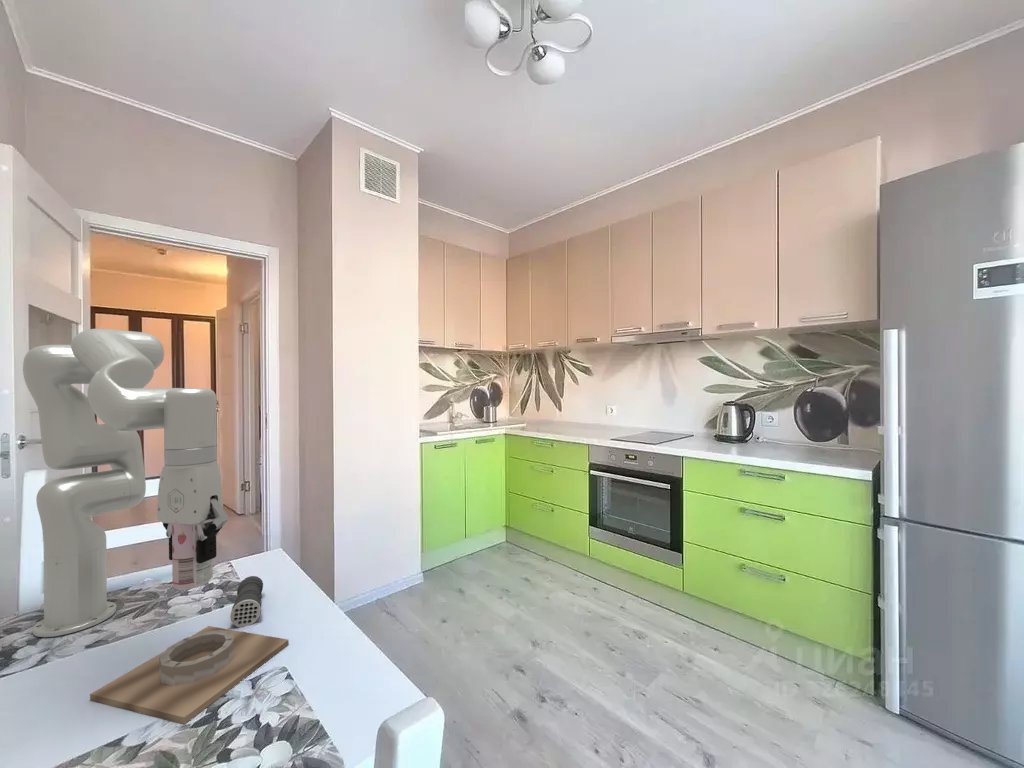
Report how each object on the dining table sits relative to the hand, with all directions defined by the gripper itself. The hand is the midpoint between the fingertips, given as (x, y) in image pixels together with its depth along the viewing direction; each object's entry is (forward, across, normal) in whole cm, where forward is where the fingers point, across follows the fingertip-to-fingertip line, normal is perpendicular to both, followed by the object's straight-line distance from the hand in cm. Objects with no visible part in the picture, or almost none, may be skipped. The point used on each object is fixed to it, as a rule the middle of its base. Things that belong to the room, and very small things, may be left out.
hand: (192, 557), depth 75 cm
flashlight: (+20, -8, +19) cm, 29 cm away
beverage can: (+5, 0, 0) cm, 5 cm away
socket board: (+20, +1, 0) cm, 20 cm away
